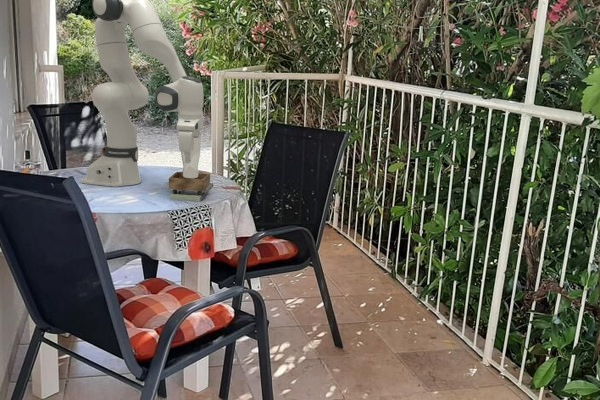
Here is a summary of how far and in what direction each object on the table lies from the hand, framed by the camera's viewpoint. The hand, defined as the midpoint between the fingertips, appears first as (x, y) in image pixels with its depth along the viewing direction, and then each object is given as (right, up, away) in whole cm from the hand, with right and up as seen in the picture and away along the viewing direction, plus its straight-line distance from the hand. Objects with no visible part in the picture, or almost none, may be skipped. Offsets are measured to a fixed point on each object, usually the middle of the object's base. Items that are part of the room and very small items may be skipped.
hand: (190, 161), depth 219 cm
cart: (-1, -11, +3) cm, 12 cm away
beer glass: (0, -6, +1) cm, 6 cm away
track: (-1, -11, +9) cm, 14 cm away
